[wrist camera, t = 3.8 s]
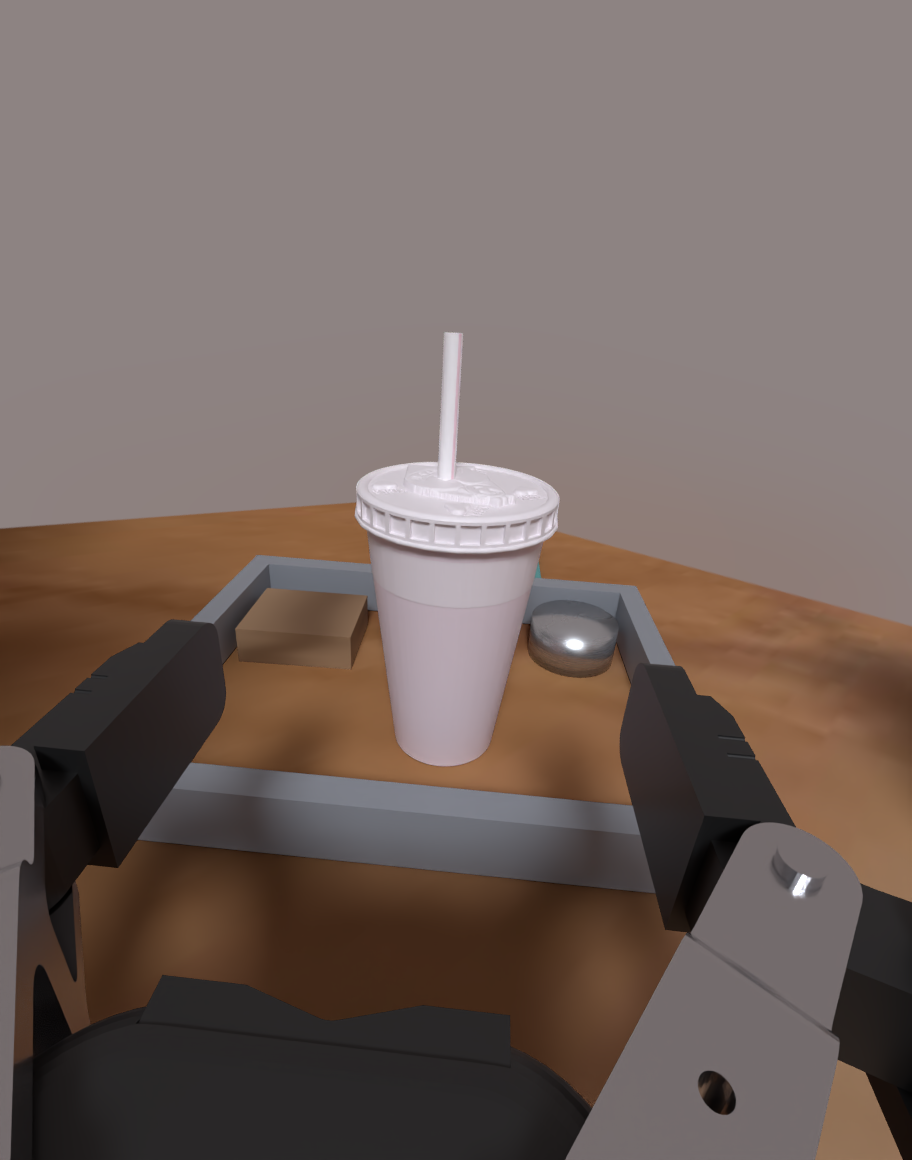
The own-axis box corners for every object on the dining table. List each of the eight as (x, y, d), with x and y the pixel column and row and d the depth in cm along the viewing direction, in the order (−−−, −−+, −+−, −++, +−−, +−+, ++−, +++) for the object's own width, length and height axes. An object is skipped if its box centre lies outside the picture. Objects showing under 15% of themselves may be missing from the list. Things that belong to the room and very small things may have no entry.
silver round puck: (529, 676, 26) (534, 638, 25) (525, 631, 29) (530, 596, 29) (618, 683, 26) (626, 646, 25) (603, 638, 29) (610, 603, 28)
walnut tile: (239, 667, 25) (235, 628, 25) (270, 622, 29) (266, 587, 28) (351, 676, 25) (350, 637, 25) (367, 630, 29) (367, 595, 28)
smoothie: (446, 664, 26) (466, 329, 20) (561, 737, 22) (629, 344, 16) (324, 725, 22) (304, 323, 16) (439, 828, 18) (470, 342, 12)
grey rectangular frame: (54, 831, 17) (35, 774, 16) (260, 591, 31) (257, 555, 30) (742, 901, 16) (765, 847, 15) (628, 623, 30) (636, 586, 30)
